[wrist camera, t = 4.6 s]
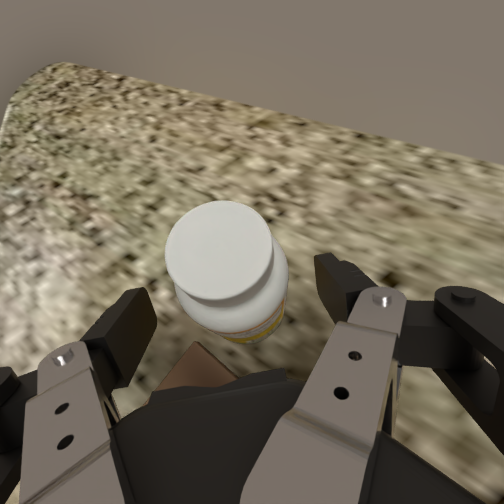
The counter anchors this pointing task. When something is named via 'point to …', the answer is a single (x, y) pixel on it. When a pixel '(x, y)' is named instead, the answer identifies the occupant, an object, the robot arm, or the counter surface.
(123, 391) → the counter surface
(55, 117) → the counter surface
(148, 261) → the counter surface
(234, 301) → the supplement bottle
